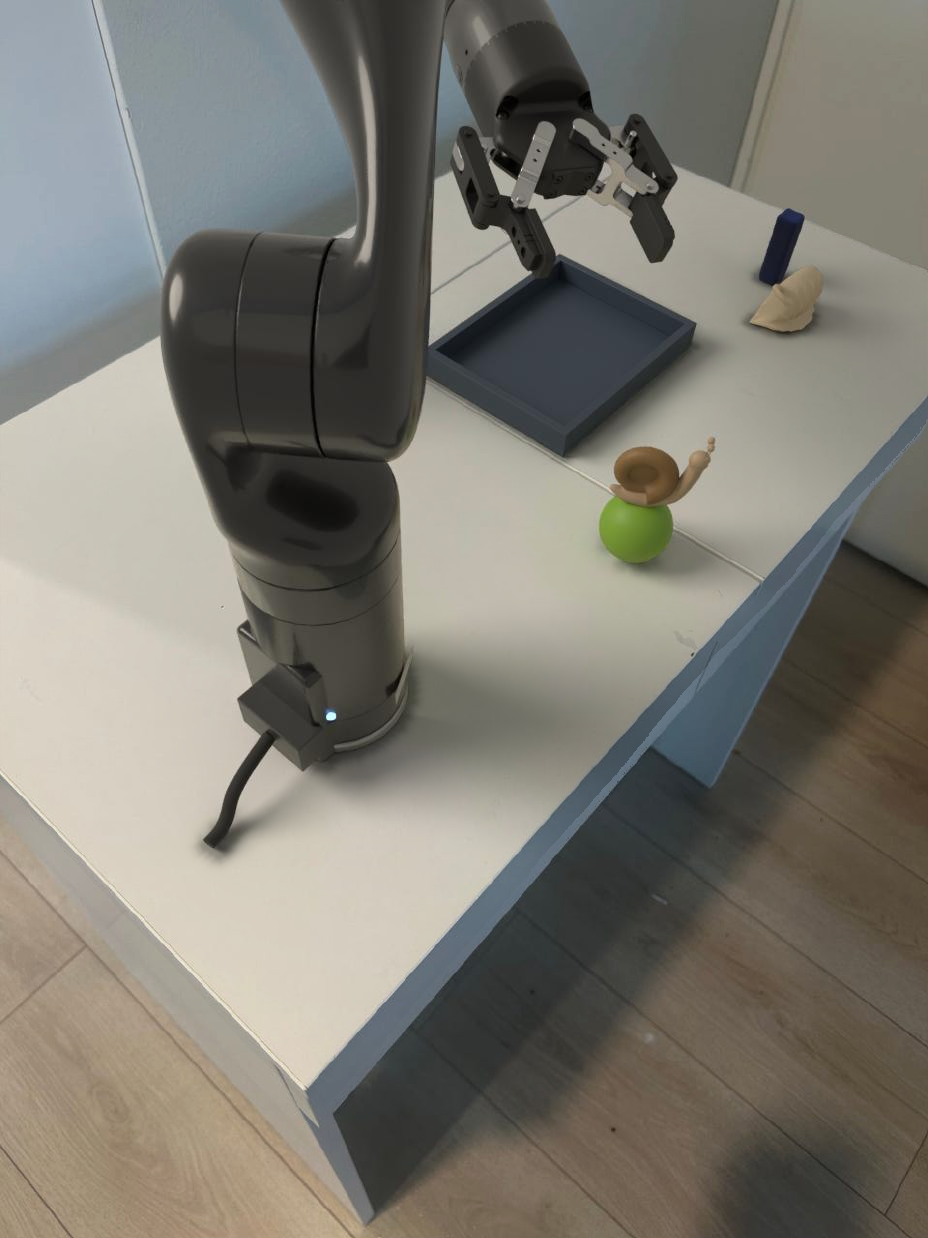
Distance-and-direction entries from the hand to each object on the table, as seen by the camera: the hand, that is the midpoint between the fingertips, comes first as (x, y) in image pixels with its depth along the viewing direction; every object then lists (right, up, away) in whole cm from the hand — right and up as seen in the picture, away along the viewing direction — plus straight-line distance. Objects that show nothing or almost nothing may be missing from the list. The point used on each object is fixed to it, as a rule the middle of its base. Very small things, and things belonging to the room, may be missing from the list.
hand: (606, 261), depth 59 cm
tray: (0, +1, +26) cm, 26 cm away
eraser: (+21, +11, +34) cm, 42 cm away
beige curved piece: (+21, +6, +30) cm, 37 cm away
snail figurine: (+4, -17, +13) cm, 22 cm away
